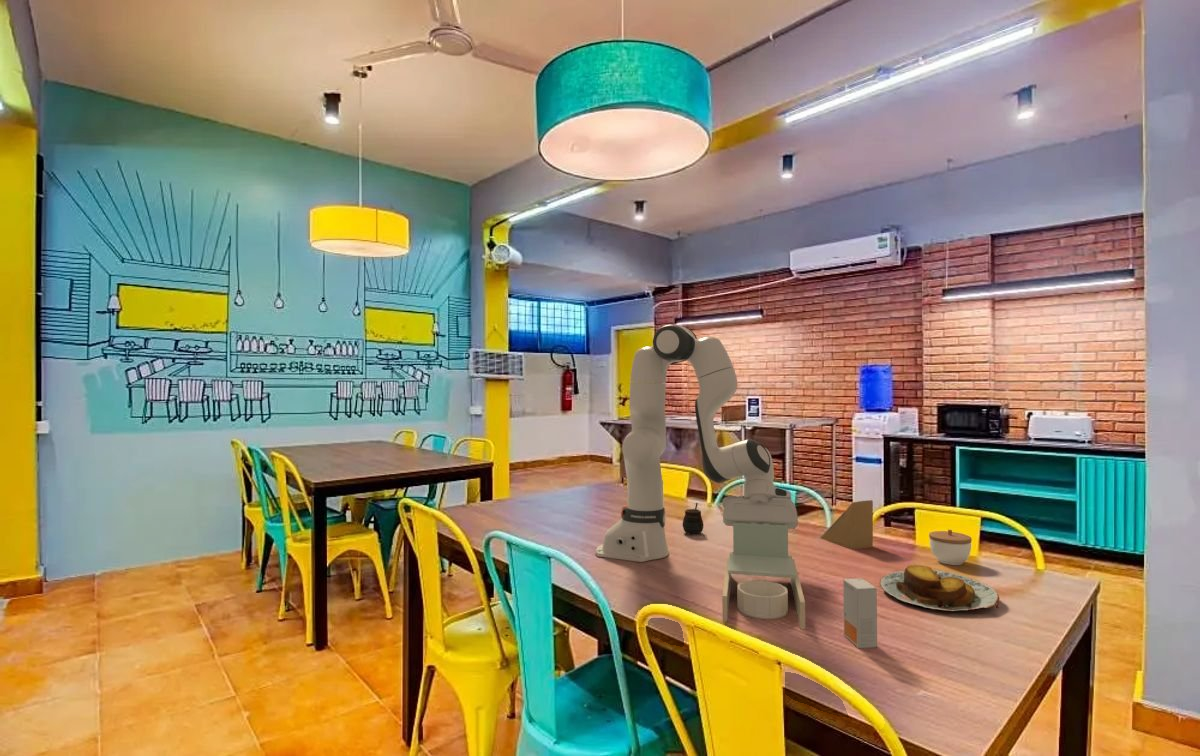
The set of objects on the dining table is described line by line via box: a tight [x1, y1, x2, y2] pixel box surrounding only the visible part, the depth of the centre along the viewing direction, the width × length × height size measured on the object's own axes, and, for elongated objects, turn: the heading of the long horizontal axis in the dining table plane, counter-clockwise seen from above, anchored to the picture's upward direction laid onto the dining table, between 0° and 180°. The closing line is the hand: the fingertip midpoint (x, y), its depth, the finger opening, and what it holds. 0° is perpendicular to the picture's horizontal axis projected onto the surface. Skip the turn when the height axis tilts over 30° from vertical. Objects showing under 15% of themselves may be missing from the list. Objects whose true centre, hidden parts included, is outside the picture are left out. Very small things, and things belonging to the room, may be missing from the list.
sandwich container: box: [819, 499, 874, 550], centre depth 198 cm, size 9×15×15 cm, turn 22°
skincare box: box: [842, 578, 878, 649], centre depth 122 cm, size 6×4×12 cm
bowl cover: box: [728, 523, 796, 579], centre depth 153 cm, size 16×16×9 cm
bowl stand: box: [721, 554, 806, 630], centre depth 146 cm, size 17×32×6 cm, turn 166°
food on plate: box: [879, 564, 1000, 618], centre depth 148 cm, size 25×25×7 cm
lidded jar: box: [928, 529, 973, 566], centre depth 175 cm, size 11×11×9 cm
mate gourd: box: [682, 502, 704, 536], centre depth 210 cm, size 7×8×10 cm
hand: (760, 539), depth 164 cm, fingers closed
